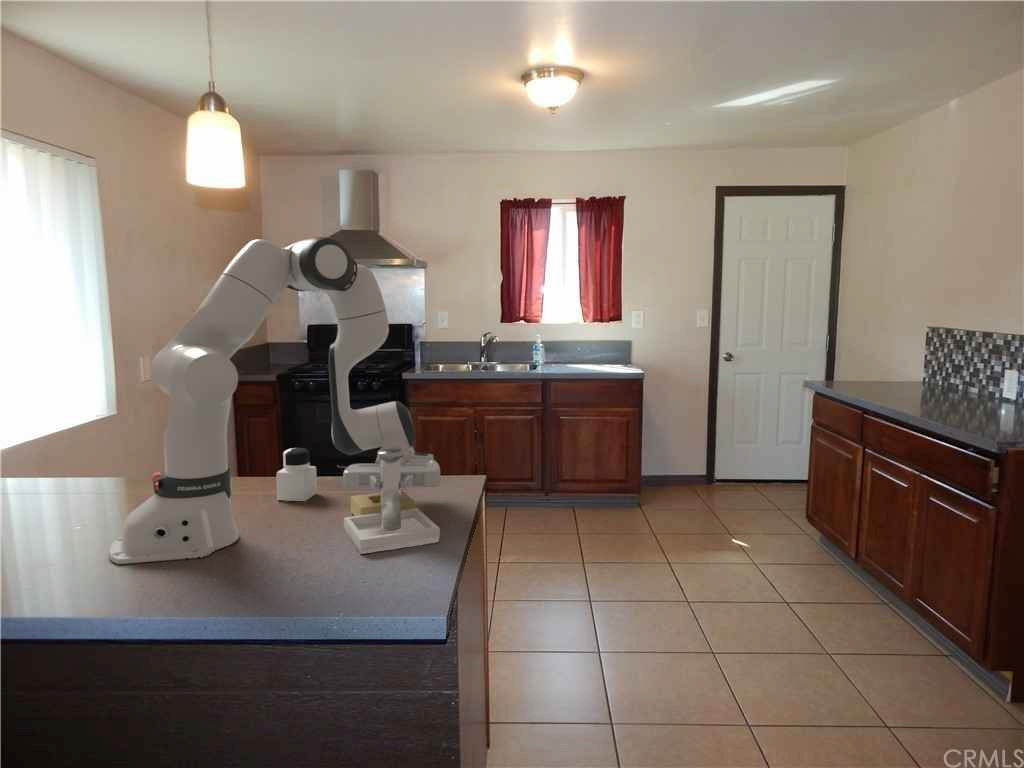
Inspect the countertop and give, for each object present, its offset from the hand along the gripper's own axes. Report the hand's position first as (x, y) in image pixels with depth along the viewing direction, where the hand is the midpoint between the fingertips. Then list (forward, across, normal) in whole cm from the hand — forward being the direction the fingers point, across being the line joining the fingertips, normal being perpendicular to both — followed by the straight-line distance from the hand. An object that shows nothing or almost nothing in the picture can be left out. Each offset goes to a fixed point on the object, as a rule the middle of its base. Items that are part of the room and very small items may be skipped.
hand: (390, 486), depth 132 cm
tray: (-1, 0, +11) cm, 11 cm away
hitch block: (-14, -3, +11) cm, 18 cm away
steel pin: (-1, 0, +9) cm, 9 cm away
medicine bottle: (-29, -24, +11) cm, 40 cm away
